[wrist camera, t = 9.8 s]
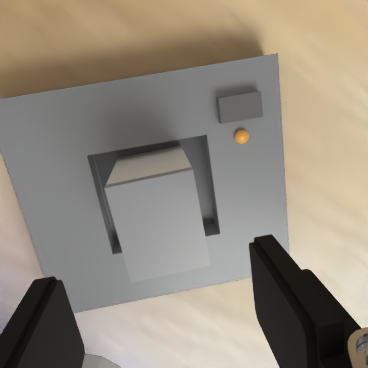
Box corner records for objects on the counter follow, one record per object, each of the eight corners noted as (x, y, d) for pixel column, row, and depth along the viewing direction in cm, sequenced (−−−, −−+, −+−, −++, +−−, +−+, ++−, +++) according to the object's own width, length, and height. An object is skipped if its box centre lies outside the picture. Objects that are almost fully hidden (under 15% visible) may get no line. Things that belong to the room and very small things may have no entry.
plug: (180, 145, 19) (193, 169, 14) (194, 217, 21) (210, 265, 15) (117, 158, 19) (104, 188, 14) (136, 229, 21) (131, 283, 15)
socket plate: (264, 56, 19) (282, 52, 17) (278, 254, 23) (294, 274, 21) (0, 100, 18) (-23, 102, 16) (66, 296, 23) (55, 322, 20)
